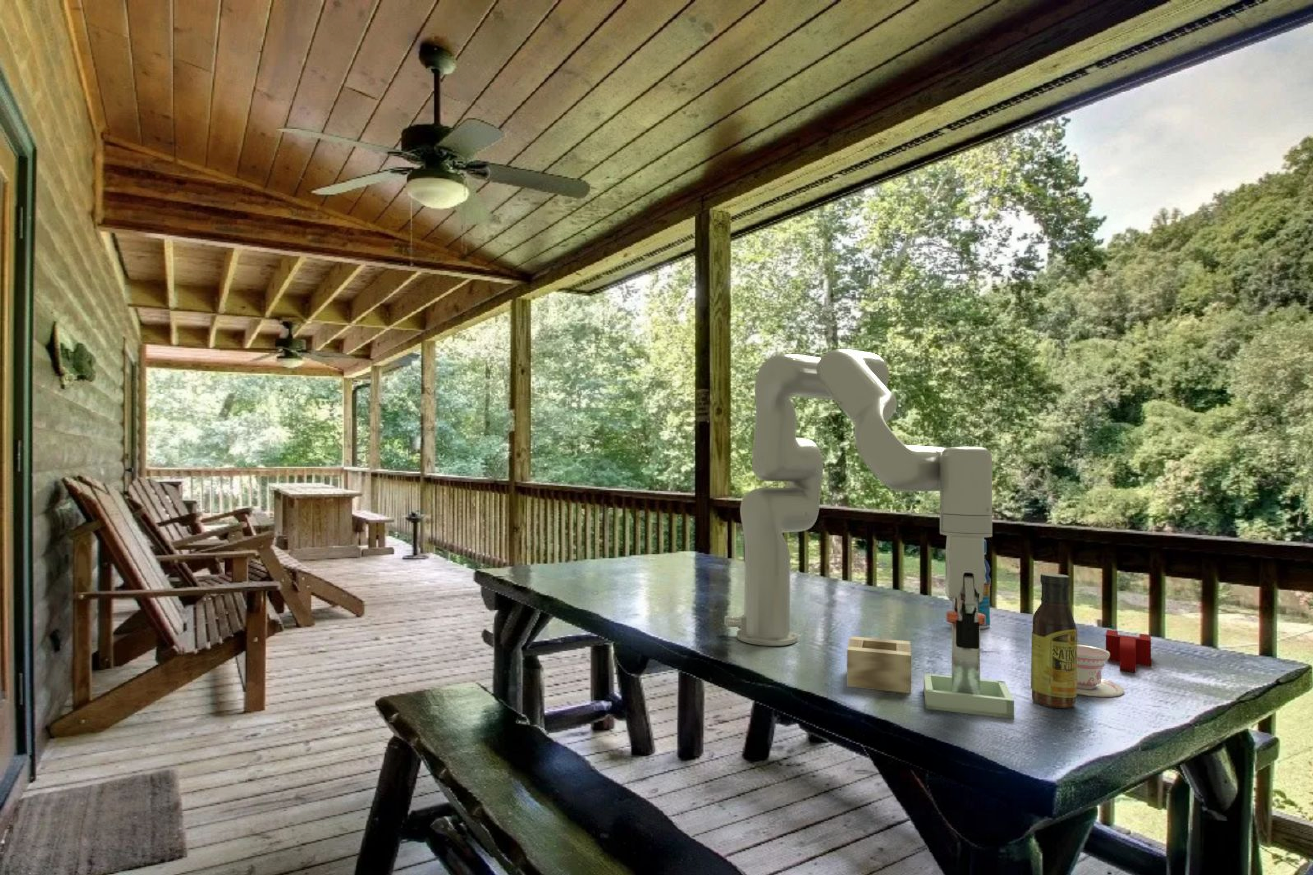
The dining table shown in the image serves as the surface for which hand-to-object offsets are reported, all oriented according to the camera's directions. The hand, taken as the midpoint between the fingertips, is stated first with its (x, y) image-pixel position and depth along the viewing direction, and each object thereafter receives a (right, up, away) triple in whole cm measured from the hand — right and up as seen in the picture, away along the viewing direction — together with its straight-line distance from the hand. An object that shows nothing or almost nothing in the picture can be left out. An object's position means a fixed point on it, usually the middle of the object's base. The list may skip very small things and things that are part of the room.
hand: (965, 641), depth 111 cm
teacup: (+24, -10, +9) cm, 27 cm away
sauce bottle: (+14, -10, 0) cm, 17 cm away
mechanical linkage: (+41, -11, +24) cm, 49 cm away
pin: (0, -8, 0) cm, 8 cm away
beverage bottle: (+25, -12, +54) cm, 61 cm away
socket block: (-10, -10, +10) cm, 17 cm away
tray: (0, -9, 0) cm, 9 cm away
